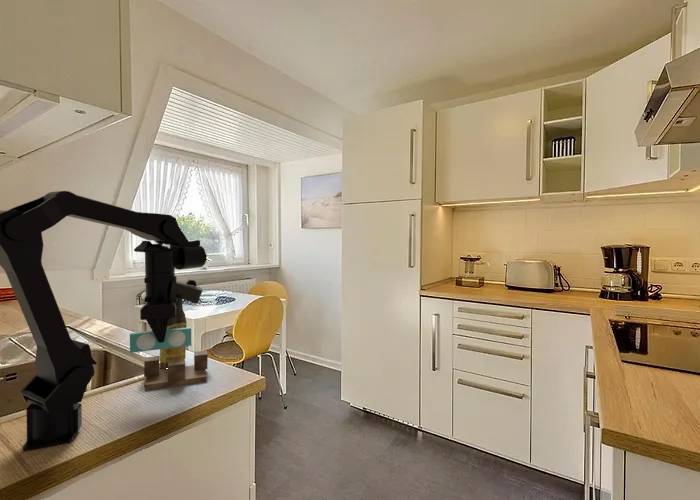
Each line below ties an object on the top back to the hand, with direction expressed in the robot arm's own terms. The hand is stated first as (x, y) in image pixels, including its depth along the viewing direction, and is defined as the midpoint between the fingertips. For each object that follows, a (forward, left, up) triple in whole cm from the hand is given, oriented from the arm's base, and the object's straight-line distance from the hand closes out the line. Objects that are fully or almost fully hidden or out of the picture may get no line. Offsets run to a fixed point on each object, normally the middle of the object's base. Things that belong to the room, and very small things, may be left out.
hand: (161, 341), depth 79 cm
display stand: (+3, +7, -12) cm, 14 cm away
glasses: (0, +3, -1) cm, 4 cm away
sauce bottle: (+2, +17, -12) cm, 20 cm away
